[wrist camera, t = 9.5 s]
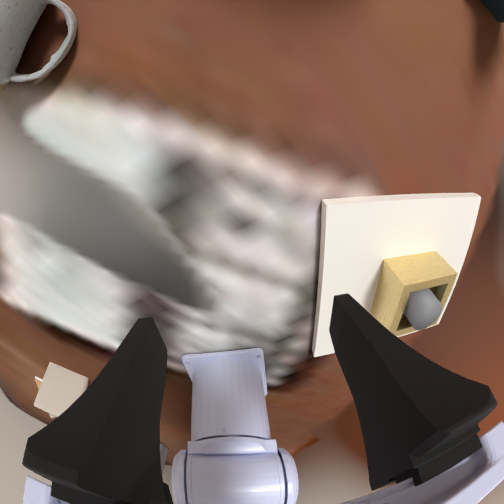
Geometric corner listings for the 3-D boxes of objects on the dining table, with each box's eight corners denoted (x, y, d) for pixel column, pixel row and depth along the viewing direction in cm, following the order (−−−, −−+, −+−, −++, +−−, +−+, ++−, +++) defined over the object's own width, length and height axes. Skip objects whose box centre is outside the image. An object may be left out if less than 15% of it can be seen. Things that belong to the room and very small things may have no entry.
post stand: (434, 318, 27) (456, 351, 23) (311, 349, 27) (325, 393, 22) (474, 192, 19) (514, 219, 14) (321, 199, 18) (354, 238, 14)
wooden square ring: (419, 300, 23) (436, 324, 21) (370, 311, 23) (385, 339, 20) (435, 250, 20) (457, 273, 17) (383, 258, 20) (404, 285, 17)
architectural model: (89, 386, 29) (78, 431, 23) (46, 368, 27) (30, 410, 21) (89, 374, 28) (75, 423, 22) (43, 355, 26) (25, 400, 20)
